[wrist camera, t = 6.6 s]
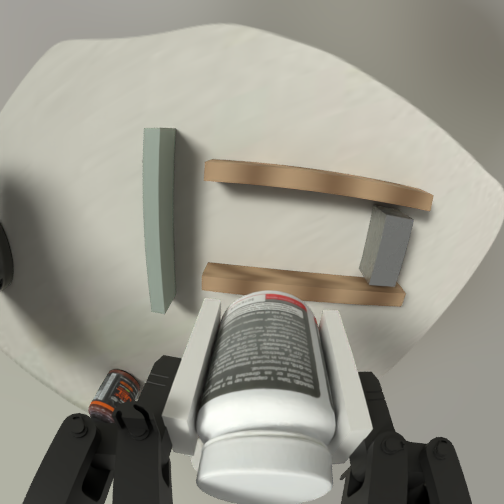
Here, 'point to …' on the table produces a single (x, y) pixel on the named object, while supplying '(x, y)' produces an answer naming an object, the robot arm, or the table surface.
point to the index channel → (304, 282)
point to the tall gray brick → (385, 246)
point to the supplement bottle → (113, 395)
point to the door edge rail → (159, 215)
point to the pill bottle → (266, 405)
